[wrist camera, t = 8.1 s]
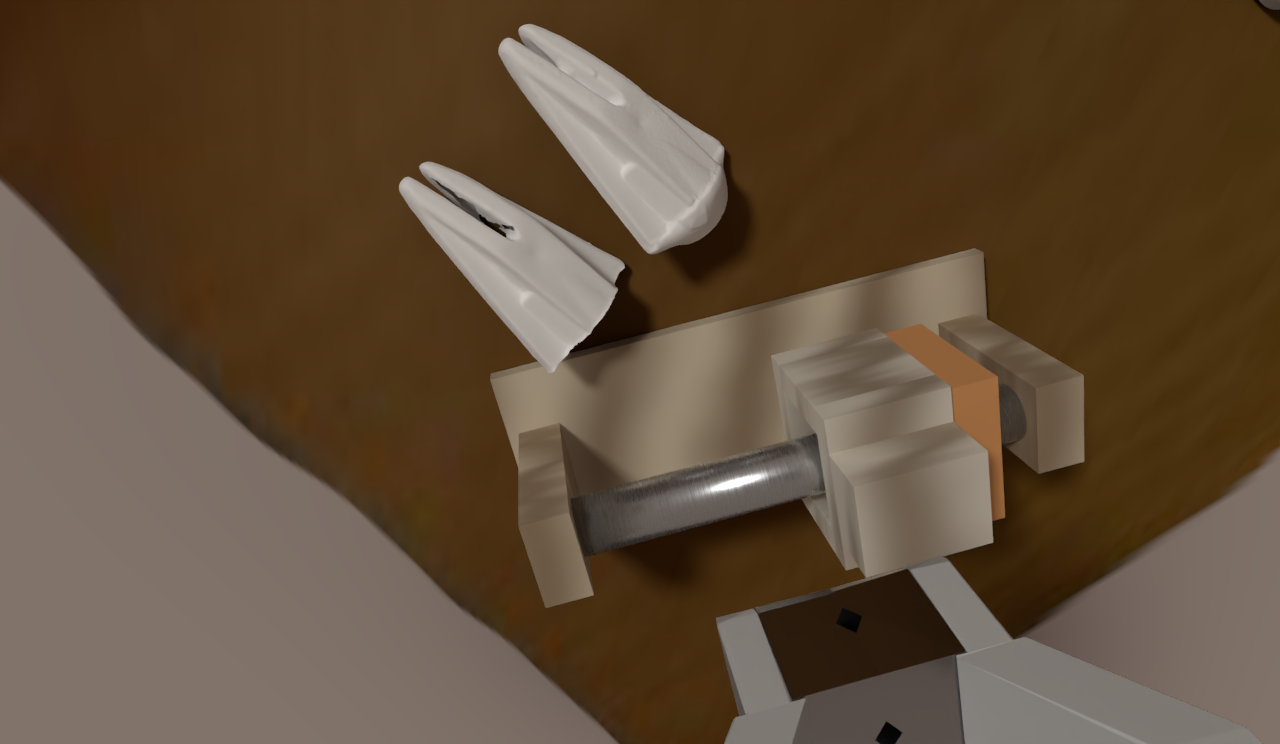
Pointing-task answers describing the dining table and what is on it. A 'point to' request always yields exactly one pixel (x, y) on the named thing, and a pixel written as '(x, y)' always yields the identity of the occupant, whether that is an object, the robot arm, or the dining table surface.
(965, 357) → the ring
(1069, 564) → the dining table surface
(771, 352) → the stand
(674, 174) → the pair of white wedges
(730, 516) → the pipe
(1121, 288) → the dining table surface
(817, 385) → the sleeve
